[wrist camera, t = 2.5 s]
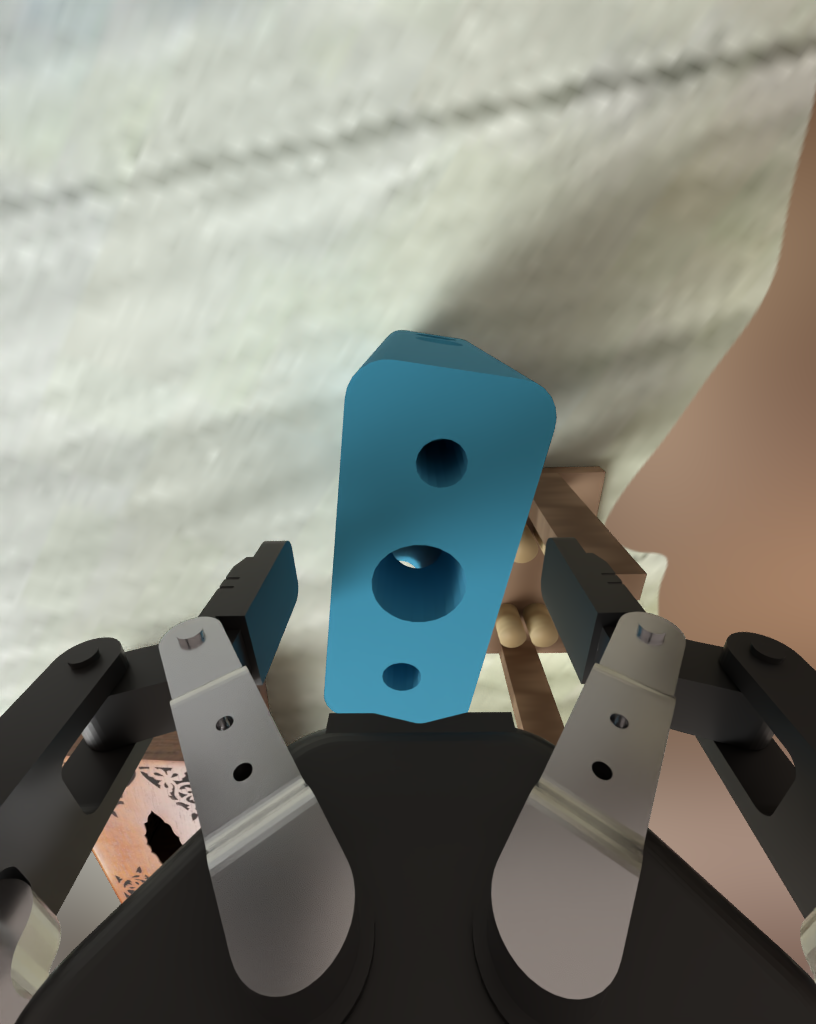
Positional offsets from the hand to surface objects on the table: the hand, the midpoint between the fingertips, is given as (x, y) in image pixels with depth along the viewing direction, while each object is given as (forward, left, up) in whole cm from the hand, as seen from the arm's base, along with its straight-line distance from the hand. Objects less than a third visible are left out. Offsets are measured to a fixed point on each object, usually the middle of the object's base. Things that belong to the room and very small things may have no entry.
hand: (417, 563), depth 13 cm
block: (0, 0, -19) cm, 19 cm away
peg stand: (+13, +9, -19) cm, 25 cm away
